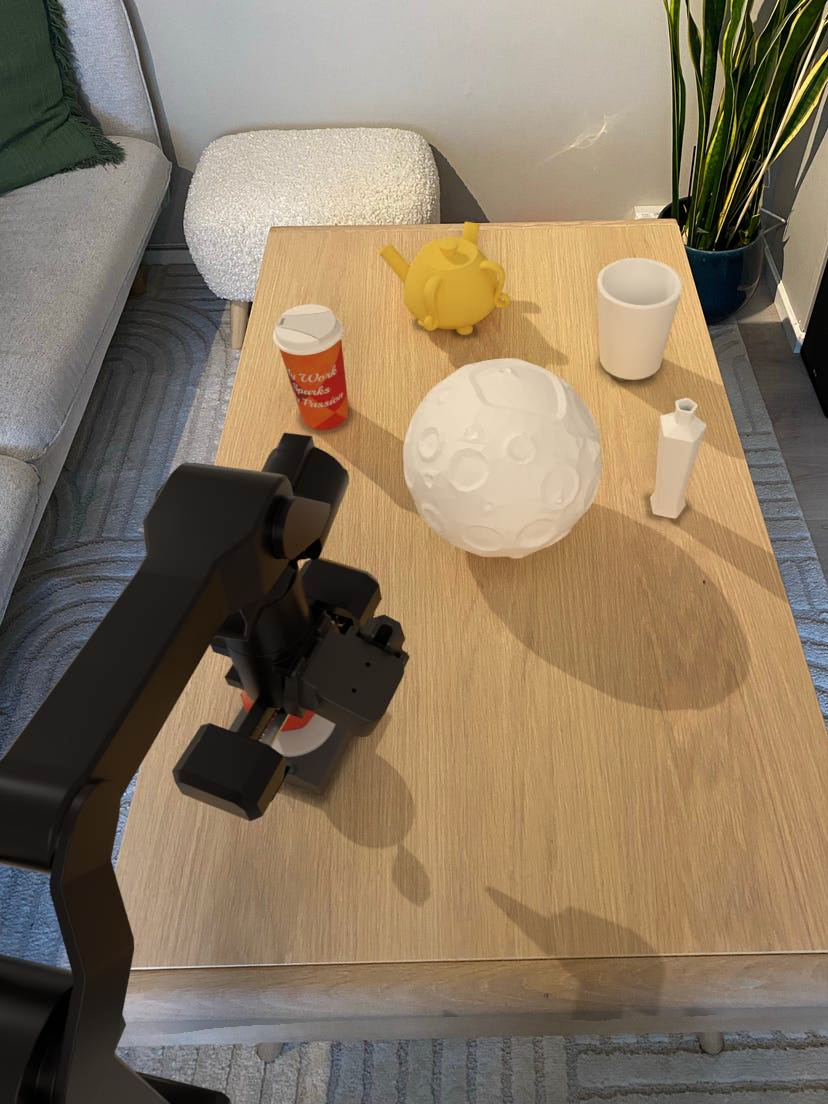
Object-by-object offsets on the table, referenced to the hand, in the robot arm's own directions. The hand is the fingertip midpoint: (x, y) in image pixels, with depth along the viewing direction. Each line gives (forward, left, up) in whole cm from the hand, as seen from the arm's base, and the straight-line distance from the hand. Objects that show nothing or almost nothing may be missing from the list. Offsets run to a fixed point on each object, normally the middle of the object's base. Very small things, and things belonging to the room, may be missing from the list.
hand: (305, 733), depth 69 cm
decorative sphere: (+34, -3, -13) cm, 37 cm away
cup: (+63, -9, -13) cm, 65 cm away
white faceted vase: (+42, -19, -13) cm, 48 cm away
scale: (+5, +6, -13) cm, 15 cm away
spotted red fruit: (+5, +6, -10) cm, 13 cm away
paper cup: (+42, +23, -13) cm, 50 cm away
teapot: (+66, +17, -13) cm, 69 cm away
